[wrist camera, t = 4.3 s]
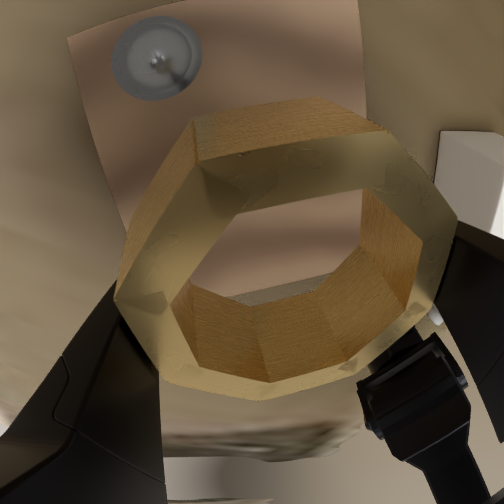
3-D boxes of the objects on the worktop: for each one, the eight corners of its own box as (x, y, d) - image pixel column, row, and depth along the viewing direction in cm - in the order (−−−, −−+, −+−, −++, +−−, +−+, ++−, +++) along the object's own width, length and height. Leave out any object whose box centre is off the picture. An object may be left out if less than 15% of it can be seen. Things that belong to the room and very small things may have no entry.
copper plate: (356, 257, 25) (361, 264, 25) (161, 301, 24) (161, 310, 24) (348, -8, 13) (355, -10, 13) (73, 38, 13) (66, 37, 12)
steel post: (205, 80, 15) (210, 90, 11) (139, 96, 15) (119, 113, 11) (193, 18, 13) (194, 4, 9) (125, 36, 13) (100, 30, 9)
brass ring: (376, 292, 12) (413, 352, 9) (184, 340, 11) (190, 414, 9) (394, 92, 7) (474, 126, 5) (103, 142, 7) (62, 200, 4)
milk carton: (553, 163, 14) (485, 334, 26) (493, 130, 20) (452, 291, 31) (507, 165, 14) (436, 358, 25) (439, 128, 20) (404, 307, 31)
